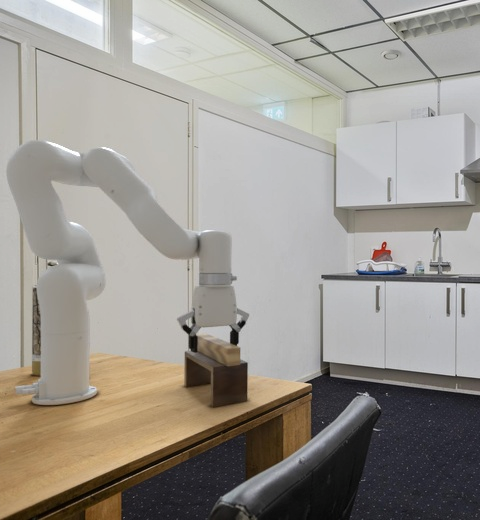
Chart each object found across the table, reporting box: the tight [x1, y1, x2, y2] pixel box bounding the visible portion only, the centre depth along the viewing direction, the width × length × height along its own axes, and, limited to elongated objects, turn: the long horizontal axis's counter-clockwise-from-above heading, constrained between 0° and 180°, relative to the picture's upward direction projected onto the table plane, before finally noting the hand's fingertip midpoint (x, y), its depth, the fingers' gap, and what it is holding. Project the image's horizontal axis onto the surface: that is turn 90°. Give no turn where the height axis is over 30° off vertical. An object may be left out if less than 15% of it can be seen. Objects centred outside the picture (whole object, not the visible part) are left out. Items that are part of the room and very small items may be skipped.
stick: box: [196, 332, 241, 366], centre depth 115 cm, size 24×3×4 cm, turn 39°
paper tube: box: [31, 284, 41, 377], centre depth 132 cm, size 7×7×25 cm
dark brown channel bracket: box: [183, 350, 249, 408], centre depth 115 cm, size 8×22×9 cm, turn 39°
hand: (214, 349), depth 115 cm, fingers open, 9 cm apart
